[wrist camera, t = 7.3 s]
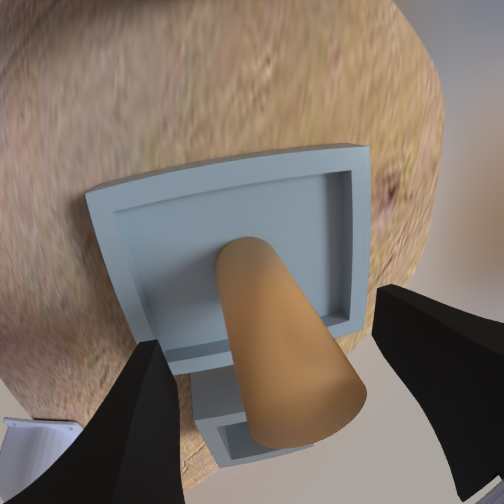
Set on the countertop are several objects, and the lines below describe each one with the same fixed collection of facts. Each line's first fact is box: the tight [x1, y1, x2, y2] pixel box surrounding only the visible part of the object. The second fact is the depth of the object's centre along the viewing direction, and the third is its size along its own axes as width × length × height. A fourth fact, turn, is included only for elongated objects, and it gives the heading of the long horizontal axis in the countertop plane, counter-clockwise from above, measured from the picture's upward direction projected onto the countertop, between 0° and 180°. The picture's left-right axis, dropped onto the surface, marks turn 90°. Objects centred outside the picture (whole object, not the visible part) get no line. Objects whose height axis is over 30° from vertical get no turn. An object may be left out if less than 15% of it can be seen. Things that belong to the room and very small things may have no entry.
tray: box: [85, 143, 371, 375], centre depth 14 cm, size 12×10×2 cm
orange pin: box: [214, 237, 367, 449], centre depth 10 cm, size 3×3×8 cm
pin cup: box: [190, 364, 313, 468], centre depth 17 cm, size 7×7×4 cm
